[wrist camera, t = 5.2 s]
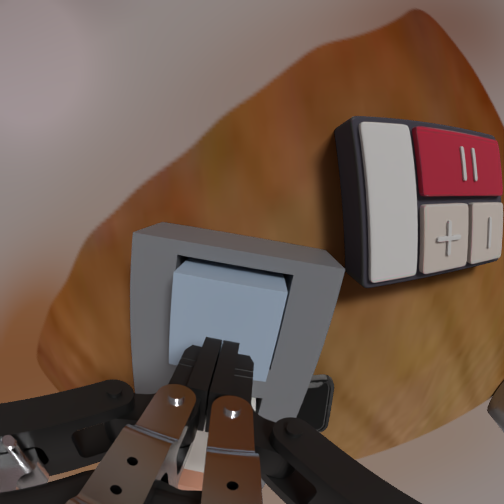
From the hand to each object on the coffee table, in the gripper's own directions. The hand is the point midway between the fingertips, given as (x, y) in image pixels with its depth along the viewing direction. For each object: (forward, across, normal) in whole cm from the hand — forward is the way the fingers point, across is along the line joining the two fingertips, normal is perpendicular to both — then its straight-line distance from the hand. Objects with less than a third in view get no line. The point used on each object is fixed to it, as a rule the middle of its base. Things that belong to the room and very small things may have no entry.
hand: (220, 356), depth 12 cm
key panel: (+9, 0, +9) cm, 13 cm away
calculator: (+10, -14, -10) cm, 19 cm away
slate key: (+6, 0, 0) cm, 6 cm away
